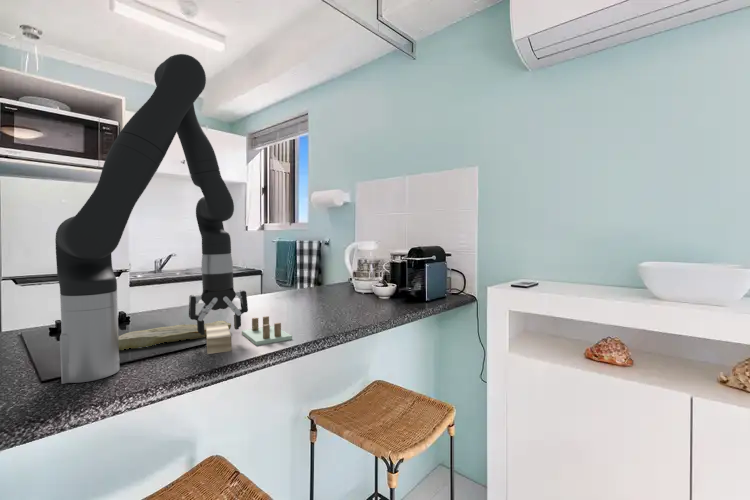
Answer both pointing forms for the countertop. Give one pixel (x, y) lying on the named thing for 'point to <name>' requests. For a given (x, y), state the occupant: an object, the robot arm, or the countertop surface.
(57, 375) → the countertop surface
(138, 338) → the stone slab
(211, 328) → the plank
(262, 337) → the peg stand
